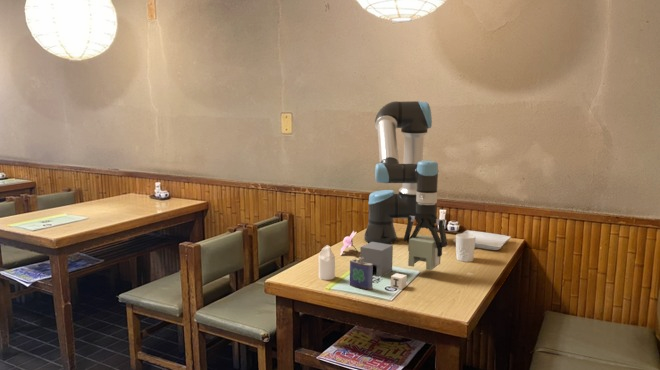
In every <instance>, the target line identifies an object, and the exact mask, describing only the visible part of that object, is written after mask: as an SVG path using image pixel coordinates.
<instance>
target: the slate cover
mask: <svg viewBox="0 0 660 370" xmlns="http://www.w3.org/2000/svg"><path fill="white" fill-rule="evenodd" d="M359 248H360V251H359V254H360V255H359V257H361V258H362V257H363V258H364V259H363V262H366V263H371V264H373V267H374V268H373V269H376V277H379V276H381V277H380V278H382V277H384V276H385V274H386V275H387V274H389V273H391V272H392V271H393V257H394V256H393V253H394V251H393V250H394V245H393V244H390V243H389V244H383V243H377V242H367V243H366V244H363V245H362V246H360V247H359ZM390 271H391V272H390ZM388 272H389V273H388ZM383 275H384V276H383Z"/></svg>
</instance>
